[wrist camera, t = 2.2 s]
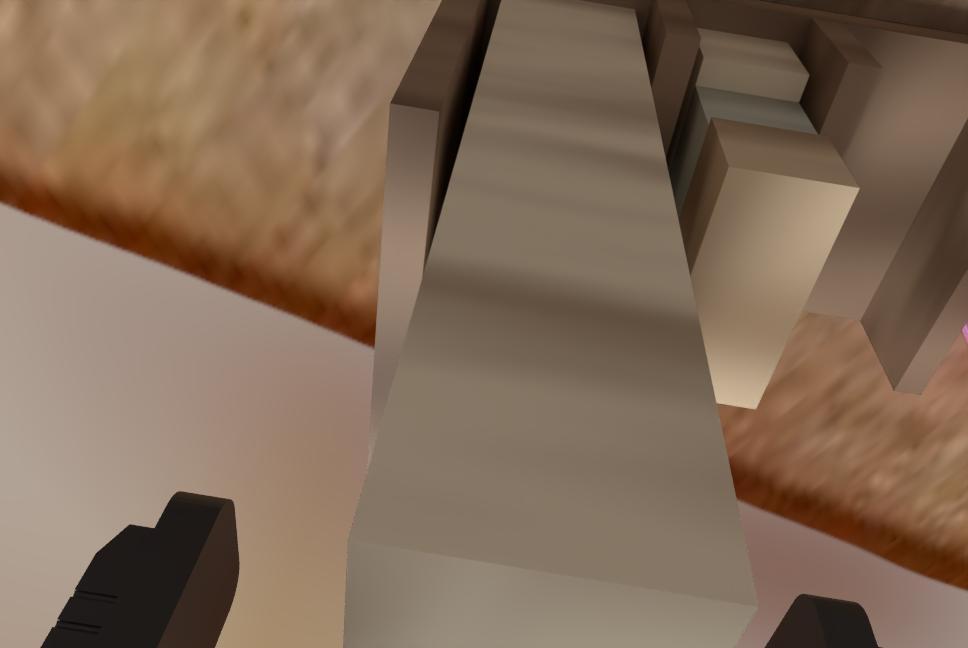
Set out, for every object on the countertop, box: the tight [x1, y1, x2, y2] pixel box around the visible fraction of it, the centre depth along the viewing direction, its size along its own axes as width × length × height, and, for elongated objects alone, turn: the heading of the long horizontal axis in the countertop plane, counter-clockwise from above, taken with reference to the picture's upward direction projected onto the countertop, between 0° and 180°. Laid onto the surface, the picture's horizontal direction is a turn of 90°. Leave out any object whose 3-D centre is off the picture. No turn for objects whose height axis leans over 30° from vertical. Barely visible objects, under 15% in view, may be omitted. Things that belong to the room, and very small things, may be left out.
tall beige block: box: [343, 0, 759, 648], centre depth 16 cm, size 8×4×18 cm, turn 172°
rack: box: [367, 0, 968, 471], centre depth 20 cm, size 9×15×11 cm, turn 82°
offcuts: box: [666, 28, 860, 409], centre depth 20 cm, size 8×3×8 cm, turn 172°
